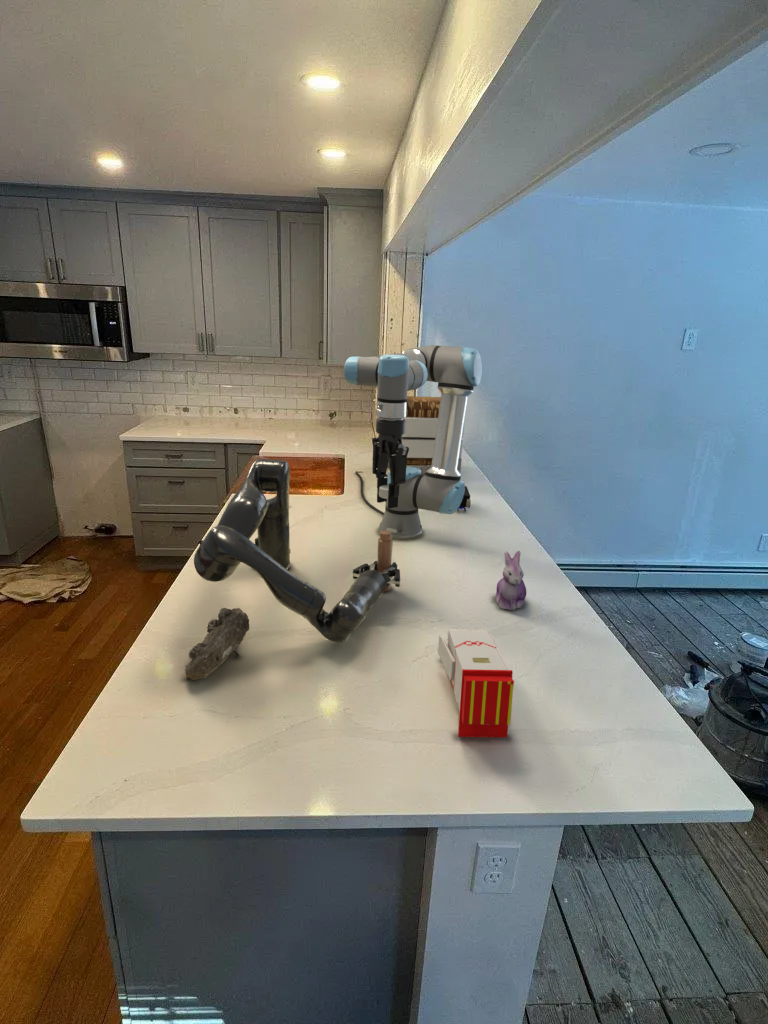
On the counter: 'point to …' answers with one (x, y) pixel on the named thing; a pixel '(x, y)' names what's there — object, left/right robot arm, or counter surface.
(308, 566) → the counter surface
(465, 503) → the figurine character
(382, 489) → the lid
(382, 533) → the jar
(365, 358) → the right robot arm
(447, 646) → the toy
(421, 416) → the white slatted crate
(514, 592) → the figurine
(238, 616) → the fossil
